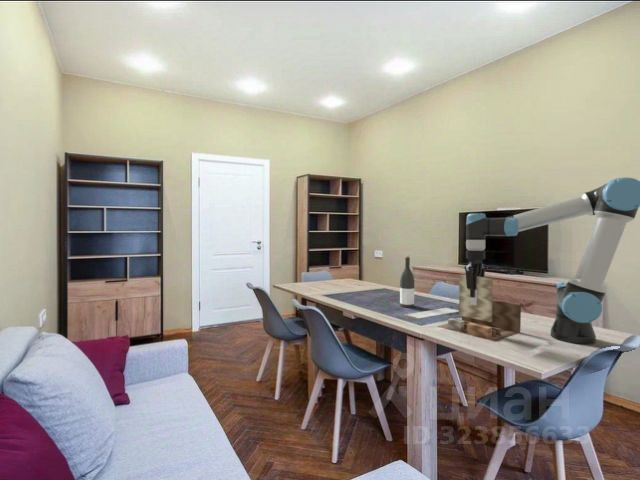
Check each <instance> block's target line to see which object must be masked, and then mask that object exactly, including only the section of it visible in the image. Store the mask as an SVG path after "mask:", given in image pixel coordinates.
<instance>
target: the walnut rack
mask: <svg viewBox="0 0 640 480" xmlns="http://www.w3.org/2000/svg"><path fill="white" fill-rule="evenodd" d="M521 312H522V304H521V303H518V302H517V303H515V302H510V301H503V300H498V299H493V298H492V322H488V321H483V320H478V319H474V318H469V317H464V316H461V318H460V319H458V318H457V319H458V320H462V321H464V331H457V330H453V329H449V328H448V323H445V324H442V325H437V328H442V329H445V330H449V331H453V332H456V333H460V334H464V335H467V336H472V337H476V338H479V339H482V340H486V341H491V342H494V343H496V342H499V341H501V340H504V339H507V338H510V337H513V336H515V335H518V334H520V333H521V326H522V325H521V317H522V316H521V315H522V313H521ZM468 323H475V324H479V325H483V326H488V327H492V338H489V339H487V338H483V337H480V336H476V335H472V334H468V333H467V324H468Z"/></svg>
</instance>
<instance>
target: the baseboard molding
mask: <svg viewBox="0 0 640 480" xmlns="http://www.w3.org/2000/svg"><path fill="white" fill-rule="evenodd" d="M453 314H459V309H457V308H455V309H454V308H452V305H450V306H449V308H448V307H442V308H437V309H429V310H423V311H417V312H413V313H412V312H411V313H408V314H403V316H405V317H407V318H412V319H415V320H422V319H427V318H431V317H435V316H441V315H447V316H448V315H453Z"/></svg>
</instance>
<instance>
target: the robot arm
mask: <svg viewBox="0 0 640 480" xmlns="http://www.w3.org/2000/svg"><path fill="white" fill-rule="evenodd" d="M639 208H640V180H639V179H637V178H634V177H627V176H626V177H624V176H623V177H618V178H614V179H612V180H610V181H609V182H607V183H605V184H603V185H601V186H599V187H597V188H595V189H592V190H589V191H585V192H583V193H582V195H581V196H578V197H575V198H570V199H567V200H564V201H560V202H557V203H554V204H550V205H546V206H542V207H538V208H536V209H532V210H528V211H525V212H522V213H518V214H514V215H510V216H506V217H487V216H486V213H481V212H480V213H469V214H467V216H466V223H465V227H466V228H465V235H466V236H465V237H466V238H465V239H466V241H465V247H466V251H465V258H466V259H467V260H468V263H467V265H464V270H465V271H464V272H465V275H466V283H467V288H468V289H470V305H477V290H476V281H477V277H485V274H486V268H487V264H484V262H483V260H485V259H486V250H485V249H486V237H490V236H491V237H515V236H517V235H518V234H519V233H520V232H523V231H526V230H530V229H535V228H538V227H542V226H546V225H550V224H555V223H557V222H561V221H566V220H570V219H574V218H578V217H581V216H585V215H588V216H590V217H591V216H592V217H593V216H596V219H595V222H594V224H593V227H592V230H591V233H590V236H589V238H588V241H587V244H586V246H585V248H584V251H583V253H582V256H581V259H580V262H579V265H578V267H577V270H576V272H575V275H574V278H572V279H570V280H568V281H567V282H563V281H562V282H558V283H556V289H555V290H556V297H555V298H556V300H555V302H556V303H555V307H556V308H555V319H554V321H553V324H552V326H551V329H550V336H551V337H552V338H554V339H557V340H559V341H562V342H569V343H573V344H582V345H583V344H584V345H590V344H596V342H597V336H596V333H595V330H594V327H593V325H592V323H593V322H594V321H596V320H597V319H599V318H600V317H601V315H602V313H603V303H602V302H603V300H604V297H605V295H606V293H607V291H606V290H605V288H604V287H603V285H604V283H605V280H606V278H607V275H608V273H609V269H610V268H611V265H612V262H613V259H614V256H615V255H616V251H617V249H618V246H619V245H620V242H621V238H622V236H623V233H624V231H625V229H626V225H627V223H629V222H632V221H634V220H635V218H636V215H637V213H638V210H639Z"/></svg>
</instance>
